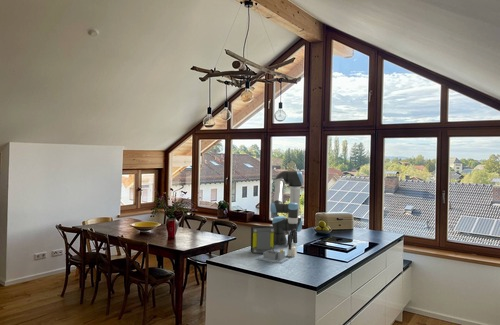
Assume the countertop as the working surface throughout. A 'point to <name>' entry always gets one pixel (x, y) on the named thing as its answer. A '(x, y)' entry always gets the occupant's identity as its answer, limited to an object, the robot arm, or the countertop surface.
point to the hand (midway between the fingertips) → (292, 252)
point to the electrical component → (262, 239)
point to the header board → (273, 256)
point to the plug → (293, 252)
